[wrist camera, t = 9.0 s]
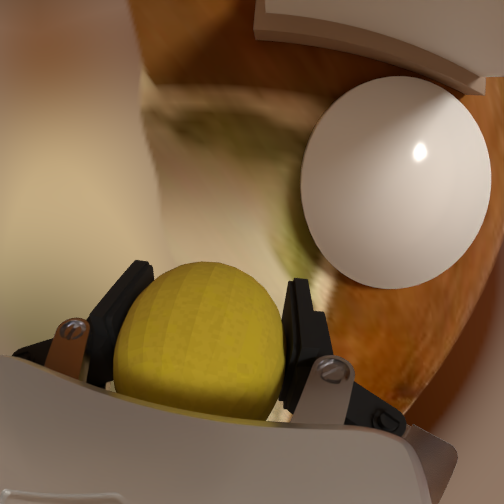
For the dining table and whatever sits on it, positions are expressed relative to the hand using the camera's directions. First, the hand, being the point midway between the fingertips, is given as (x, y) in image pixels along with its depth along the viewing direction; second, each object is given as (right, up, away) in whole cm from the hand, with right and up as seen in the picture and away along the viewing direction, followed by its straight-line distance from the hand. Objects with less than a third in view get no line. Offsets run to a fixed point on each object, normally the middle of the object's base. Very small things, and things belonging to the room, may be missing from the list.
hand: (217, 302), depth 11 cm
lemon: (0, +1, +1) cm, 1 cm away
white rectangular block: (+8, +15, -1) cm, 17 cm away
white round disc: (+11, +6, +3) cm, 12 cm away
